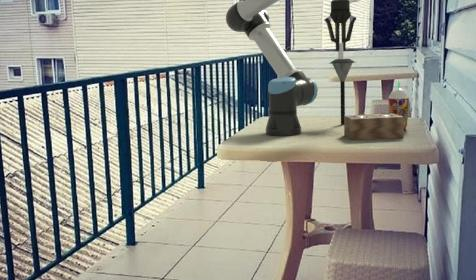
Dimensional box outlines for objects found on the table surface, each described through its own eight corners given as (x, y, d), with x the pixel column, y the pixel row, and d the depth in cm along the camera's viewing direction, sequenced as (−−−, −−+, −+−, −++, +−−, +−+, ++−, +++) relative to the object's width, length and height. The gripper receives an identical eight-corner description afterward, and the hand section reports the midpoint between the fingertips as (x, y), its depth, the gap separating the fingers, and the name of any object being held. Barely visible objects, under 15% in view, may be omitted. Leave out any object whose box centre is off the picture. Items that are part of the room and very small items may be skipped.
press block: (352, 140, 202) (351, 119, 200) (344, 135, 214) (344, 115, 212) (403, 137, 203) (403, 116, 201) (393, 133, 214) (393, 113, 213)
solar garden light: (357, 126, 238) (356, 58, 233) (329, 126, 239) (328, 59, 235) (355, 122, 249) (355, 58, 245) (329, 123, 251) (328, 59, 247)
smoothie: (409, 131, 218) (410, 82, 214) (388, 131, 219) (389, 82, 216) (407, 128, 226) (408, 81, 222) (387, 128, 227) (387, 81, 224)
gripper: (326, -1, 210) (326, 59, 214) (358, -2, 210) (358, 58, 214) (322, 1, 217) (323, 59, 221) (353, 0, 218) (354, 58, 222)
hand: (340, 59), depth 218 cm, fingers closed
